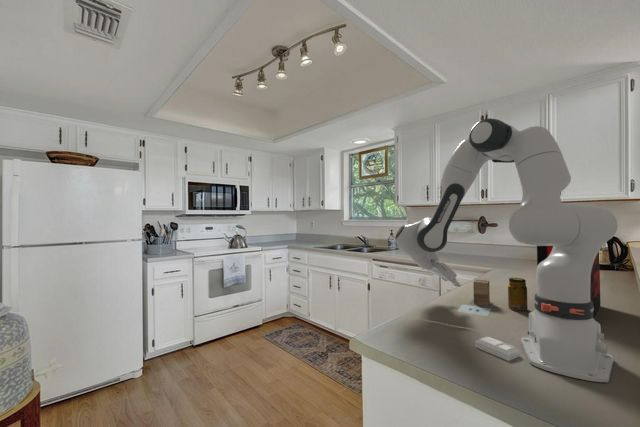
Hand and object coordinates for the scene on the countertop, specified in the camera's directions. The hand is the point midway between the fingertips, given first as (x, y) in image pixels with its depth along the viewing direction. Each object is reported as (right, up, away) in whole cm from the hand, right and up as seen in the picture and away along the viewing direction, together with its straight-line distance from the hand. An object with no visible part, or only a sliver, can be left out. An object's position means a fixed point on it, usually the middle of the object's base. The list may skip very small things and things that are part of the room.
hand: (452, 282), depth 118 cm
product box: (+41, -9, -8) cm, 43 cm away
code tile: (+5, -9, -8) cm, 13 cm away
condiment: (+22, -9, -8) cm, 25 cm away
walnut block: (+12, -9, 0) cm, 15 cm away
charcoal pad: (+12, -9, +1) cm, 15 cm away
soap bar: (-6, -10, -40) cm, 41 cm away
